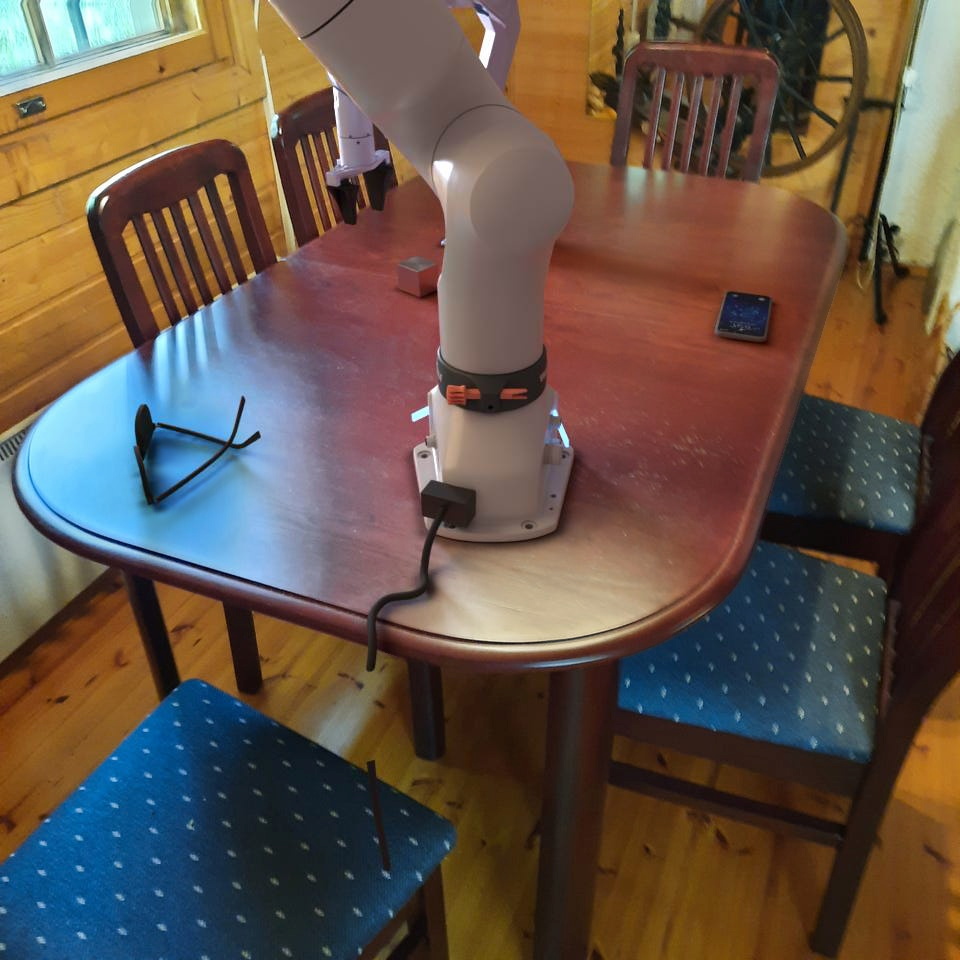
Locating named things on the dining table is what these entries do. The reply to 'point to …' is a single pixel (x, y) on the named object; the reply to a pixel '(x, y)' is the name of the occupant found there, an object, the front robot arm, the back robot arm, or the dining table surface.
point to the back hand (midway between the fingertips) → (364, 216)
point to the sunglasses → (147, 427)
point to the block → (418, 276)
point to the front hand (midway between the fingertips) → (411, 130)
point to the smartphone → (744, 316)
